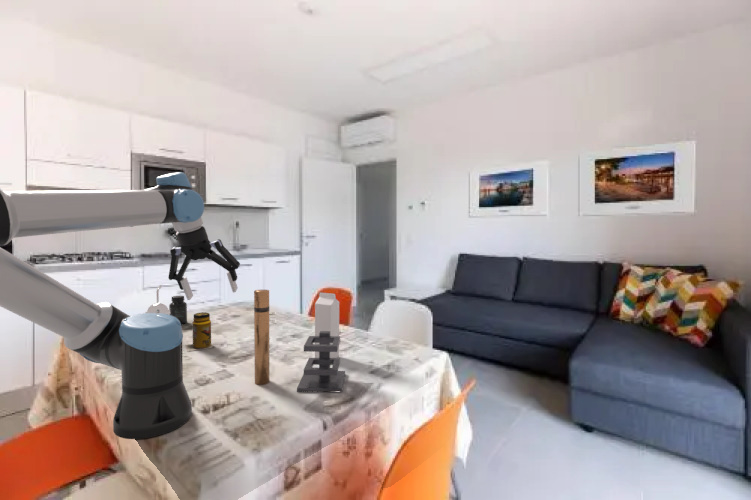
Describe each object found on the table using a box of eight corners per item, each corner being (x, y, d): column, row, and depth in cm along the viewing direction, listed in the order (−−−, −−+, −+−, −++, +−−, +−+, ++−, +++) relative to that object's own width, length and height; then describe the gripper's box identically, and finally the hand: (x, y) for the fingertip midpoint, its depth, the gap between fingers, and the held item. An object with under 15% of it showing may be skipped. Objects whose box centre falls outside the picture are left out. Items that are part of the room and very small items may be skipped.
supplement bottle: (170, 322, 164) (169, 295, 164) (187, 320, 167) (186, 294, 166) (168, 326, 158) (168, 298, 157) (186, 324, 161) (186, 297, 160)
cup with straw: (139, 342, 137) (138, 288, 136) (157, 334, 146) (156, 284, 145) (160, 343, 136) (158, 289, 134) (177, 336, 145) (176, 285, 143)
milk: (323, 354, 127) (323, 290, 126) (339, 356, 125) (339, 292, 124) (314, 360, 122) (314, 293, 120) (330, 362, 120) (331, 295, 118)
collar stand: (342, 392, 99) (342, 344, 98) (296, 391, 99) (297, 344, 98) (345, 374, 111) (345, 331, 110) (305, 373, 111) (305, 331, 110)
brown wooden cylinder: (267, 385, 102) (267, 292, 101) (252, 384, 102) (251, 292, 101) (271, 378, 107) (271, 289, 105) (257, 378, 107) (256, 289, 105)
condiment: (213, 347, 132) (213, 314, 132) (187, 351, 128) (186, 317, 127) (210, 342, 138) (209, 310, 138) (184, 345, 134) (184, 313, 133)
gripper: (237, 217, 108) (256, 281, 116) (151, 231, 107) (176, 295, 115) (230, 225, 101) (251, 292, 109) (138, 240, 100) (166, 307, 108)
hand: (213, 294), depth 112 cm, fingers open, 13 cm apart
